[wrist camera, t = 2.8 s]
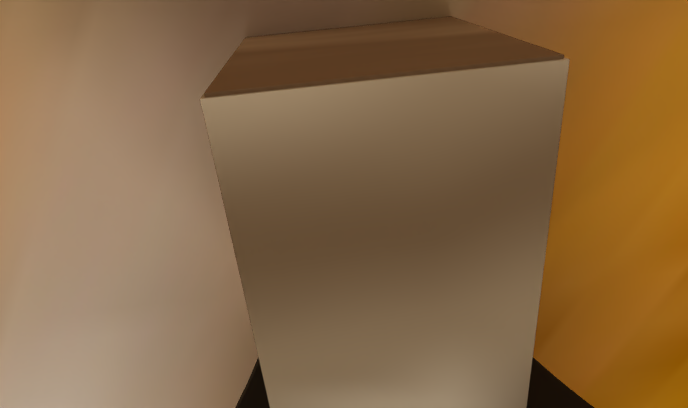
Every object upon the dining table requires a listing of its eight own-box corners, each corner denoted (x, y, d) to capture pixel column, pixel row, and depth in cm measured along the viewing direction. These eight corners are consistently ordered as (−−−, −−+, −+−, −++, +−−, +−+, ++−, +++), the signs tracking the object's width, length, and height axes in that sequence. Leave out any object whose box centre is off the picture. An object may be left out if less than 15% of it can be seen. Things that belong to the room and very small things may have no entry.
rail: (445, 482, 18) (495, 658, 13) (323, 499, 17) (332, 682, 13) (452, 15, 10) (570, 55, 6) (242, 37, 10) (198, 94, 6)
